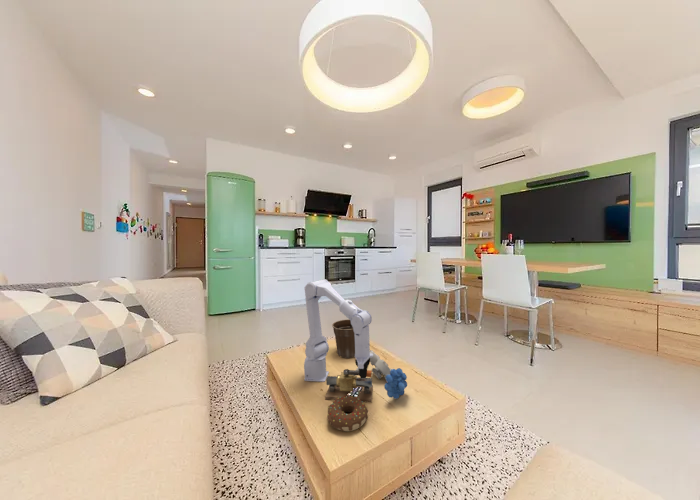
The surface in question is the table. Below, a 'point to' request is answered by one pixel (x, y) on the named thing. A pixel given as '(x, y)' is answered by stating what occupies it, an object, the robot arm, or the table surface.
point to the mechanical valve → (378, 366)
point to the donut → (347, 420)
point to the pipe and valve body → (348, 383)
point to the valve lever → (356, 372)
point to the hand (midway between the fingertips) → (363, 377)
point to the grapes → (395, 383)
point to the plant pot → (344, 338)
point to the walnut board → (339, 393)
